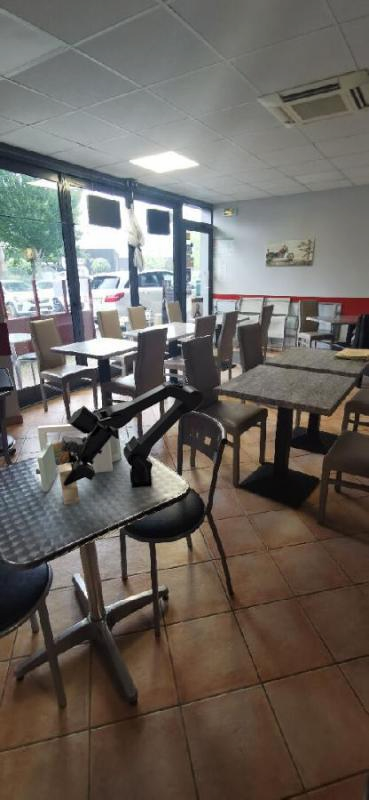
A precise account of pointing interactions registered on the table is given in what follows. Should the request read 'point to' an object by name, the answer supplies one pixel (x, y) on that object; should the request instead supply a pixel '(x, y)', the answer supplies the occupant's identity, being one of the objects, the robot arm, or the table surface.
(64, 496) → the block
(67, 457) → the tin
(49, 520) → the table surface
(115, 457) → the spray can
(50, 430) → the wall frame
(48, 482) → the door
